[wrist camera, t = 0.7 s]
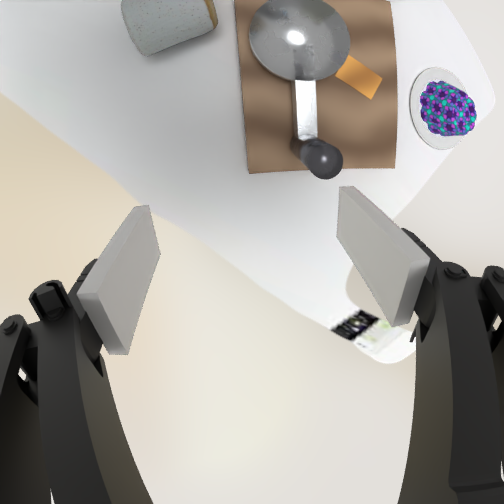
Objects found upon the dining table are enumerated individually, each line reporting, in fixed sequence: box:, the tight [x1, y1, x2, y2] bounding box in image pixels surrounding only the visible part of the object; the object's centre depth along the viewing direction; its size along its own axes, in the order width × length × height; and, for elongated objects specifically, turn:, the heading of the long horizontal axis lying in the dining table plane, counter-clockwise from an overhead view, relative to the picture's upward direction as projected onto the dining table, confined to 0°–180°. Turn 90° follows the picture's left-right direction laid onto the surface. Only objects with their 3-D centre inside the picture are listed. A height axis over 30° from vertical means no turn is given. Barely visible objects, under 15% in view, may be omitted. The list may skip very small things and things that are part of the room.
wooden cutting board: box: [234, 0, 397, 174], centre depth 26 cm, size 22×18×2 cm
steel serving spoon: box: [249, 0, 350, 179], centre depth 22 cm, size 18×10×8 cm, turn 4°
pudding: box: [410, 67, 477, 150], centre depth 27 cm, size 12×12×5 cm
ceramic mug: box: [121, 0, 218, 56], centre depth 19 cm, size 11×8×8 cm
